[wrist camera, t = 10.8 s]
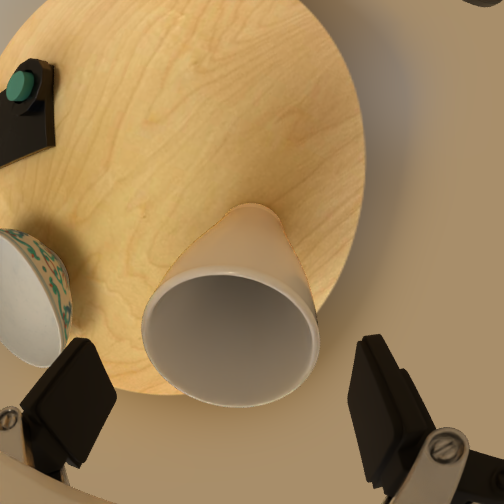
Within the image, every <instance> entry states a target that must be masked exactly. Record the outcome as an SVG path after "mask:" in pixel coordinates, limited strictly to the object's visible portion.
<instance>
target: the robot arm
mask: <svg viewBox="0 0 504 504" xmlns="http://www.w3.org/2000/svg"><path fill="white" fill-rule="evenodd" d="M116 399H117V394H116V391H115V389H114V387H113V385H112V383H111V381H110V379H109V377H108V375H107V373H106V371H105V368H104V366H103V364H102V362H101V359H100V357H99V355H98V353H97V350H96V348H95V346H94V344H93V343H92V342H91V341H90V340H89V339H87V338H78V337H76V338H74V339H73V340H72V341H71V342H70V343H69V345H68V346H67V347H66V348H65V349H64V350H63V351H62V353H61V354H60V355H59V356H58V357H57V358H56V360H55V361H54V362H53V363H52V364H51V366H50V367H49V368H48V369H47V370H46V372H45V373H44V374H43V376H42V377H41V378H40V379H39V380H38V382H37V383H36V384H35V385H34V387H33V388H32V389H31V390H30V392H29V393H28V394H27V395H26V397H25V398H24V399H23V401H22V402H21V403H20V406H21V407H22V409H23V410H24V411H23V413H21V412H20V410H19V409H18V408H16V407H14V406H9V407H5V408H3V409H2V410H0V504H116V503H113V502H109V501H107V500H104V499H101V498H98V497H96V496H93V495H90V494H88V493H85V492H82V491H80V490H78V489H75V488H73V487H71V486H70V484H69V480H68V477H67V473H66V470H65V466H64V464H65V462H67V463H68V464H69V465H71V466H74V467H76V468H78V469H80V466H81V465H82V463H84V462H85V461H86V460H87V457H88V455H89V453H90V451H91V449H92V447H93V445H94V443H95V441H96V439H97V437H98V435H99V433H100V431H101V429H102V427H103V425H104V423H105V421H106V419H107V417H108V415H109V414H110V412H111V410H112V408H113V406H114V404H115V402H116ZM347 399H348V406H349V410H350V414H351V418H352V422H353V426H354V430H355V434H356V438H357V442H358V446H359V450H360V455H361V458H362V463H363V467H364V472H365V476H366V480H367V482H372V484H373V488H374V489H375V488H379V487H383V490H384V494H385V495H387V496H386V497H385V499H384V500H383V502H382V504H504V460H503V459H499V458H496V457H492V456H489V455H486V454H482V453H479V452H476V451H473V450H470V449H469V442H468V439H467V438H466V436H465V435H464V434H463V433H462V432H461V431H459V430H457V429H455V428H450V427H444V428H439V429H436V427H435V425H434V423H433V421H432V419H431V417H430V415H429V413H428V411H427V409H426V407H425V405H424V403H423V401H422V399H421V397H420V395H419V393H418V391H417V389H416V387H415V385H414V383H413V381H412V379H411V378H410V375H409V374H408V372H407V371H406V370H405V369H404V368H403V369H399V367H398V365H397V363H396V361H395V359H394V357H393V356H392V354H391V352H390V350H389V348H388V346H387V344H386V343H385V341H384V339H383V337H382V336H381V335H380V334H376V335H368V336H364V337H363V339H362V341H358V342H357V347H356V353H355V359H354V365H353V371H352V376H351V381H350V386H349V392H348V398H347Z"/></svg>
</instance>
